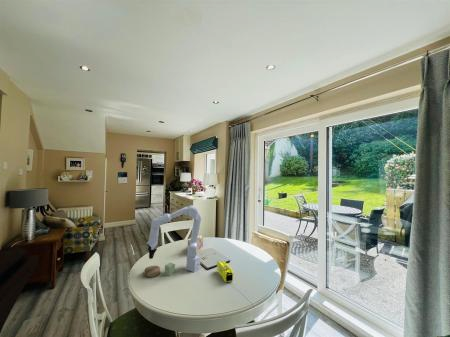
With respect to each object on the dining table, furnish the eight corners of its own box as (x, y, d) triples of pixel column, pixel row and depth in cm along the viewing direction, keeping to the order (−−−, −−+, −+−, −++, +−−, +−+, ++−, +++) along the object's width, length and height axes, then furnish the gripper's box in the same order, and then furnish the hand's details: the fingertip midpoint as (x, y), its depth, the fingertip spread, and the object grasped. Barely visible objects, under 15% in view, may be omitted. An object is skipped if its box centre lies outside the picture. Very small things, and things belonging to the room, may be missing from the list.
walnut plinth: (163, 272, 136) (163, 268, 136) (150, 279, 127) (151, 274, 127) (153, 268, 141) (153, 264, 141) (140, 274, 133) (141, 270, 133)
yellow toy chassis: (216, 271, 140) (216, 259, 140) (223, 270, 142) (224, 258, 142) (224, 283, 125) (225, 270, 125) (233, 282, 128) (233, 269, 128)
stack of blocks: (196, 245, 187) (196, 231, 187) (202, 245, 185) (203, 232, 185) (187, 254, 166) (187, 239, 166) (194, 255, 164) (195, 240, 164)
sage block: (174, 273, 136) (174, 264, 136) (169, 275, 132) (169, 266, 132) (169, 271, 139) (170, 262, 139) (164, 273, 135) (165, 264, 135)
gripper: (147, 232, 143) (144, 251, 143) (147, 239, 129) (144, 260, 129) (158, 232, 145) (155, 251, 145) (158, 240, 132) (155, 260, 131)
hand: (150, 256), depth 137 cm, fingers open, 7 cm apart
